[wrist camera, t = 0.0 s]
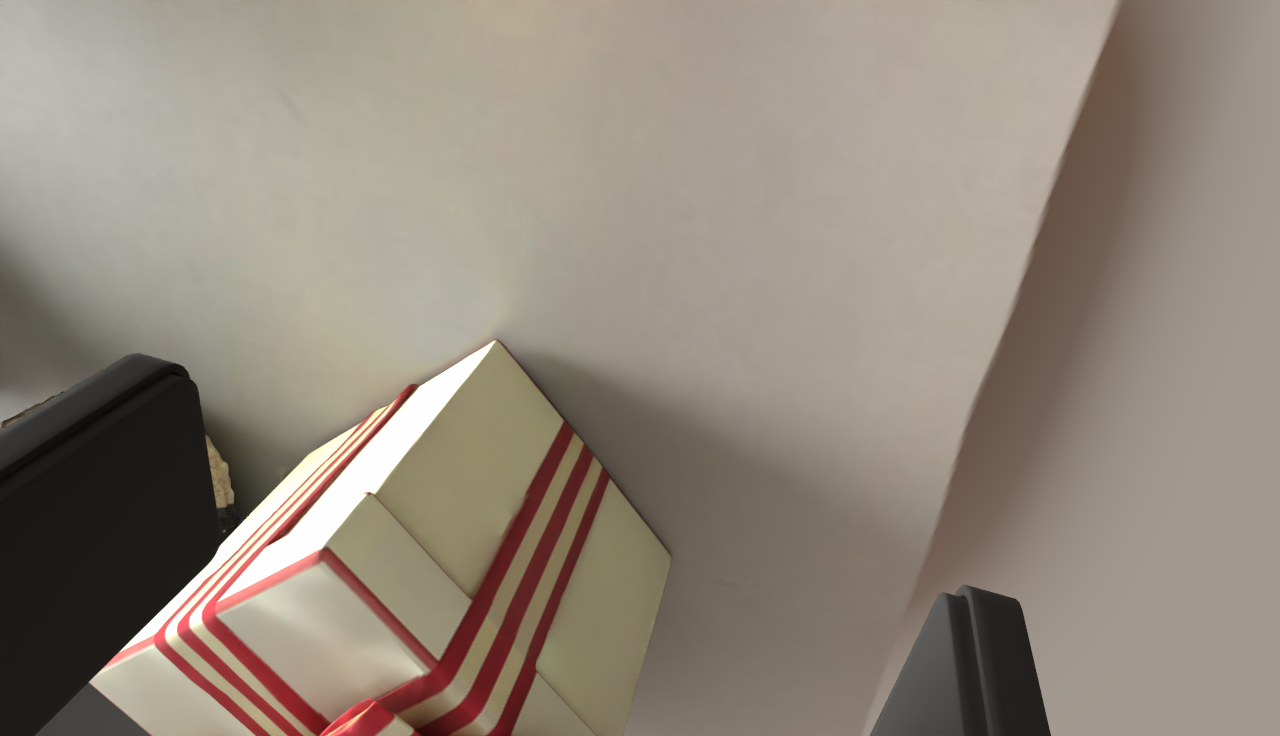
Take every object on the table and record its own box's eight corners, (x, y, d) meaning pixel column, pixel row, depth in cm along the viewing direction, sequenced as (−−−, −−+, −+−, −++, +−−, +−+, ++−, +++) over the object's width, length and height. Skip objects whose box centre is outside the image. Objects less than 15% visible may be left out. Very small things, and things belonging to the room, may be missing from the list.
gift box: (524, 679, 48) (374, 1014, 33) (296, 459, 44) (10, 733, 29) (754, 578, 40) (691, 961, 25) (503, 295, 35) (250, 560, 21)
